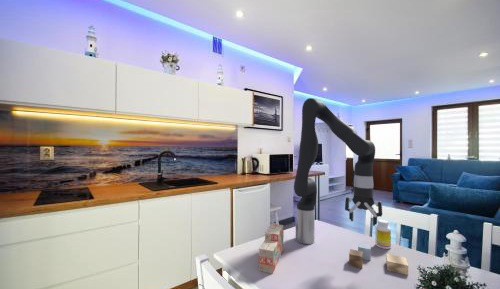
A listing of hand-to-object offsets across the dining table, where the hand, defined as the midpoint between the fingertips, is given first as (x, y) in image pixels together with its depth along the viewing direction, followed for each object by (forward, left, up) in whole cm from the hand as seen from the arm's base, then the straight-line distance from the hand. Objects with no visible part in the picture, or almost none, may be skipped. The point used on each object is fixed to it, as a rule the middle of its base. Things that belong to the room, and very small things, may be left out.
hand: (362, 222), depth 94 cm
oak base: (+13, +3, -18) cm, 22 cm away
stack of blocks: (-36, -17, -18) cm, 43 cm away
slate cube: (+1, +7, -18) cm, 19 cm away
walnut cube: (-3, -2, -18) cm, 18 cm away
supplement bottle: (+8, +23, -18) cm, 30 cm away
